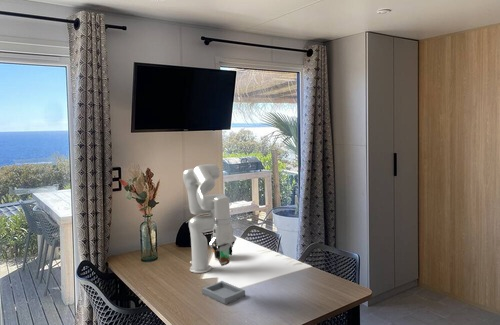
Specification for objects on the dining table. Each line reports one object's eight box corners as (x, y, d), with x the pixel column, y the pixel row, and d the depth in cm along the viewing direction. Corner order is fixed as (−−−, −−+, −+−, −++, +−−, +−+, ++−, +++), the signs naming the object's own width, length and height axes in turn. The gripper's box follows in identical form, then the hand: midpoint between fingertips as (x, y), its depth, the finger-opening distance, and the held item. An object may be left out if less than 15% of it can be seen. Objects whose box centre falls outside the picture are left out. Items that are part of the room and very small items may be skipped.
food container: (234, 264, 198) (232, 245, 197) (222, 267, 197) (220, 247, 196) (229, 256, 210) (227, 238, 209) (217, 259, 209) (215, 240, 208)
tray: (202, 293, 206) (201, 288, 206) (222, 286, 215) (222, 280, 214) (224, 304, 193) (224, 298, 192) (245, 296, 202) (244, 290, 201)
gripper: (212, 226, 193) (213, 262, 194) (240, 219, 204) (241, 254, 206) (203, 223, 198) (204, 258, 200) (231, 217, 209) (232, 250, 211)
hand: (223, 256), depth 203 cm, fingers closed on food container, 6 cm apart
